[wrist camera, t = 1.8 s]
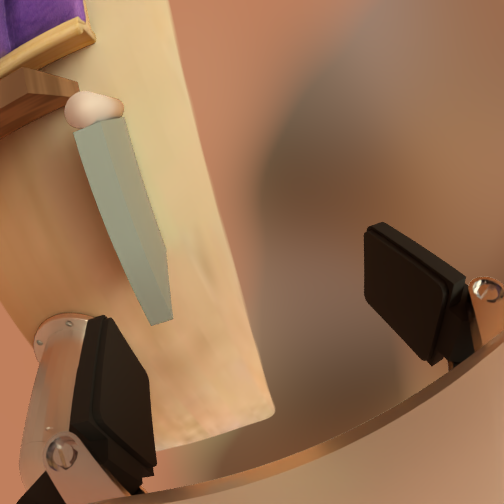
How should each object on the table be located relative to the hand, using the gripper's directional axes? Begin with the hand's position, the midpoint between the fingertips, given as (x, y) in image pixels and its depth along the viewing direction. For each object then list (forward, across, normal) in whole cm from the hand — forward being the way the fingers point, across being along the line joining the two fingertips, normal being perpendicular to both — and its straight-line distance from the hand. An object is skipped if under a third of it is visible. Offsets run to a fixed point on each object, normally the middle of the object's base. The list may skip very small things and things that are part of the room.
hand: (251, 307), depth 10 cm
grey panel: (+20, +5, -1) cm, 21 cm away
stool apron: (+20, +14, -11) cm, 27 cm away
